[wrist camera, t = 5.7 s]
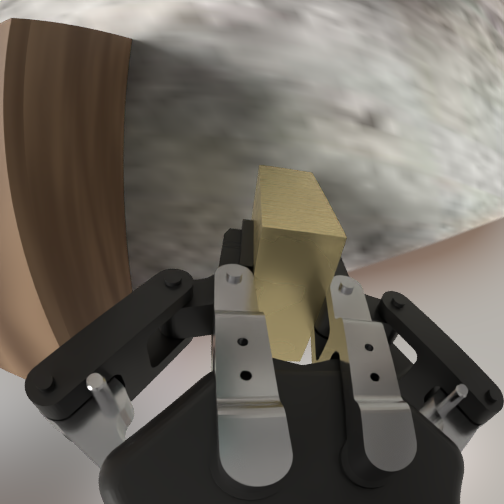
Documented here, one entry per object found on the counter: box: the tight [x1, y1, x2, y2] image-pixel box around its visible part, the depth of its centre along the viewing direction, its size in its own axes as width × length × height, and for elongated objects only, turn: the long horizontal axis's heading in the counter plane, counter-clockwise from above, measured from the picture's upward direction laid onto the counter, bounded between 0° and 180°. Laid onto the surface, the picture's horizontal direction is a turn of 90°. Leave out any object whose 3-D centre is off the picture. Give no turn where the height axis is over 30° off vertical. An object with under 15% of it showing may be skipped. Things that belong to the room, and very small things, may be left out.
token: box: [251, 165, 347, 361], centre depth 12 cm, size 2×6×6 cm, turn 173°
